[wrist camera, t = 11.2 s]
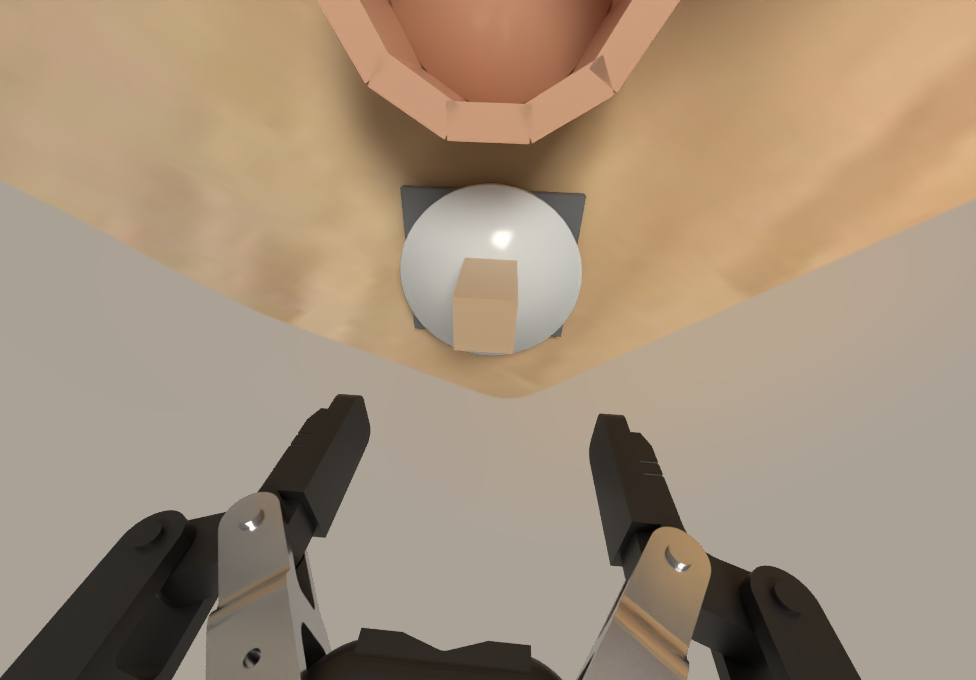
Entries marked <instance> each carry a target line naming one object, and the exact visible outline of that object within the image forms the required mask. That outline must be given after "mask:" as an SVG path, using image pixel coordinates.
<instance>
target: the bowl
mask: <svg viewBox="0 0 976 680" xmlns="http://www.w3.org/2000/svg"><path fill="white" fill-rule="evenodd" d="M679 1H680V0H317V2H318V4H319V6H320V7H321V9H322V11H323V12H324V14H325V16H326V18H327V19H328V21H329V23H330V24H331V26H332V28H333V30H334V31H335V33H336V35H337V36H338V38H339V40H340V42H341V43H342V45H343V47H344V48H345V50H346V52H347V54H348V55H349V57H350V59H351V60H352V62H353V64H354V66H355V67H356V69H357V71H358V72H359V74H360V76H361V78H362V79H363V81H364V83H365V84H368V87H369V88H371V89H372V90H373V91H375V92H376V93H378V94H379V95H381V96H382V97H383V98H385V99H386V100H388V101H389V102H391V103H392V104H394V105H395V106H396V107H398V108H399V109H401V110H402V111H404V112H405V113H406V114H408V115H409V116H411V117H412V118H414V119H415V120H417V121H418V122H419V123H421V124H422V125H424V126H425V127H427V128H428V129H430V130H431V131H432V132H434V133H435V134H437V135H438V136H440V137H441V138H442V139H444V140H445V139H447V141H463V142H487V143H512V144H529V143H530V140H531V142H532V143H534V142H536V141H537V140H539V139H541V138H542V137H544V136H546V135H548V134H549V133H551V132H553V131H554V130H556V129H558V128H559V127H561V126H563V125H565V124H566V123H568V122H570V121H571V120H573V119H575V118H577V117H578V116H580V115H582V114H583V113H585V112H587V111H589V110H590V109H592V108H594V107H595V106H597V105H599V104H600V103H602V102H604V101H606V100H607V99H609V98H611V97H612V96H614V93H617V92H618V91H619V89H620V88H621V86H622V85H623V83H624V82H625V80H626V79H627V77H628V76H629V74H630V73H631V72H632V70H633V69H634V67H635V66H636V64H637V63H638V61H639V60H640V58H641V57H642V55H643V54H644V52H645V51H646V50H647V48H648V47H649V45H650V44H651V42H652V41H653V39H654V38H655V36H656V35H657V33H658V32H659V30H660V29H661V28H662V26H663V25H664V23H665V22H666V20H667V19H668V17H669V16H670V14H671V13H672V11H673V10H674V8H675V7H676V6H677V4H678V3H679ZM569 73H570V75H568V74H569ZM567 75H568V76H567ZM566 76H567V77H566ZM467 100H468V101H467ZM469 101H470V102H469ZM524 102H525V103H524ZM521 103H524V104H521Z"/></svg>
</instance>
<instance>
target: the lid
mask: <svg viewBox="0 0 976 680" xmlns="http://www.w3.org/2000/svg"><path fill="white" fill-rule="evenodd" d="M400 270H401V282H402V287H403V291H404V294H405V297H406V300H407V302H408V304H409V306H410V308H411V310H412V311H413V313H414V314H415V316H416V317H417V319H418V320H419V321H420V322H421V324H422V325H423V326H424V327H425V328H426V329H427V330H428V331H429V332H430V333H432V334H433V335H434V336H436V337H437V338H438V339H440V340H441V341H443V342H445V343H446V344H448V345H450V346H452V347H454V350H458V351H466V352H470V353H474V354H480V355H507V354H513V353H517V352H520V351H523V350H527V349H529V348H531V347H533V346H536V345H538V344H539V343H541V342H543V341H544V340H546V339H547V338H548V337H550V336H551V335H552V334H554V333H555V332H556V331H557V330H558V329H559V328H560V327H561V326H562V324H563V323H564V322H565V321H566V319H567V318H568V317H569V315H570V313H571V312H572V310H573V308H574V306H575V304H576V301H577V299H578V295H579V292H580V288H581V280H582V264H581V258H580V253H579V250H578V247H577V243H576V241H575V239H574V237H573V235H572V233H571V231H570V229H569V227H568V225H567V224H566V222H565V221H564V219H563V218H562V217H561V216H560V215H559V213H558V212H557V211H556V210H555V209H554V208H553V207H552V206H550V205H549V204H548V203H547V202H546V201H544V200H543V199H541V198H539V197H538V196H536V195H535V194H533V193H531V192H528V191H526V190H524V189H521V188H518V187H514V186H511V185H505V184H497V183H482V184H475V185H469V186H466V187H463V188H459V189H456V190H454V191H452V192H450V193H448V194H446V195H444V196H443V197H441V198H440V199H438V200H437V201H435V202H434V203H433V204H432V205H431V206H430V207H429V208H427V209H426V210H425V211H424V213H423V214H422V215H421V216H420V218H419V219H418V220H417V221H416V222H415V224H414V225H413V227H412V229H411V230H410V232H409V234H408V236H407V239H406V241H405V244H404V247H403V251H402V255H401V265H400Z"/></svg>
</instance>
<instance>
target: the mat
mask: <svg viewBox="0 0 976 680" xmlns="http://www.w3.org/2000/svg"><path fill="white" fill-rule="evenodd" d="M456 189H459V188H447V187H425V186H402V187H401V198H402V207H403V217H404V227H405V236H406V239H407V236H408V234H409V232H410V230H411V229H412V227H413V225H414V224H415V222H416V221H417V220H418V219H419V218H420V216H421V215H422V214H423V213H424V211H425V210H426V209H427V208H429V207H430V206H431V205H432V204H433V203H434V202H435V201H437V200H438V199H440V198H441V197H443V196H444V195H446V194H448V193H450V192H452V191H454V190H456ZM528 192H531V193H533V194H535V195H536V196H538V197H539V198H541V199H543V200H544V201H546V202H547V203H548V204H549V205H550V206H552V207H553V208H554V209H555V210H556V211H557V212H558V213H559V215H560V216H561V217H562V218H563V219H564V221H565V222H566V224H567V225H568V227H569V229H570V231H571V233H572V235H573V237H574V239H575V241H576V243H578V238H579V232H580V227H581V221H582V215H583V210H584V204H585V199H586V195H585V194H580V193H558V192H536V191H528ZM413 314H414V313H413ZM414 324H415V328H421V329H426V328H425V327H424V326H423V325H422V324H421V322H420V321H419V320H418V319H417V317H416V316H415V314H414ZM562 327H563V324H562V326H561V327H560V328H559V329H558V330H557V331H556V332H555V333H554V334H552V335H551V336H559V337H561V333H562Z"/></svg>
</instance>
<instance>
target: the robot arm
mask: <svg viewBox="0 0 976 680" xmlns="http://www.w3.org/2000/svg"><path fill="white" fill-rule="evenodd" d="M369 436H370V423H369V419H368V415H367V411H366V407H365V403H364V399H363V397H362V396H359V395H345V394H338V395H337V396H336V397H335V399H334V400H333V402H332V403H331V405H330V406H329V408H328V409H323V408H321V409H320V410H318V411H317V412H316V413H315V414H313V415H312V416H311V417H310V418H308V419H307V420H306V422H305V423H304V425H303V426H302V428H301V430H300V431H299V432H298V435H296V437H295V438H294V440H293V441H292V443H291V446H289V447H288V449H287V450H286V452H285V453H284V454H283V456H282V458H281V459H280V460H279V462H278V463H277V465H276V467H275V468H274V469H273V471H272V472H271V474H270V475H269V477H268V478H267V480H266V481H265V483H264V484H263V486H262V487H261V489H260V490H259V491H258V492H257V493H254V494H251V495H248V496H246V497H244V498H242V499H241V500H239V501H238V502H237V503H235V504H234V505H233V506H231V507H230V508H229V510H228V511H227V512H224V513H219V514H215V515H211V516H206V517H201V518H197V519H192V520H187V519H186V518H185V517H184V516H183V514H182V513H180V512H178V511H173V510H169V511H163V512H159V513H156V514H153V515H151V516H149V517H147V518H145V519H143V520H142V521H140V522H138V523H137V524H136V525H134V526H133V527H132V528H131V529H129V530H128V531H127V532H126V533H125V534H124V535H123V536H122V537H121V539H120V540H119V541H118V542H117V543H116V544H115V546H114V547H113V548H112V549H111V550H110V551H109V553H108V554H107V555H106V556H105V557H104V558H103V559H102V561H101V562H100V563H99V564H98V565H97V566H96V568H95V569H94V570H93V571H92V572H91V573H90V574H89V576H88V577H87V578H86V579H85V580H84V581H83V583H82V584H81V585H80V586H79V587H78V588H77V590H76V591H75V592H74V593H73V594H72V595H71V597H70V598H69V599H68V600H67V601H66V602H65V603H64V605H63V606H62V607H61V608H60V609H59V610H58V612H57V613H56V614H55V615H54V616H53V617H52V619H51V620H50V621H49V622H48V623H47V624H46V626H45V627H44V628H43V629H42V630H41V631H40V632H39V634H38V635H37V636H36V637H35V638H34V639H33V641H32V642H31V643H30V644H29V645H28V646H27V648H26V649H25V650H24V651H23V652H22V653H21V654H20V656H19V657H18V658H17V659H16V660H15V662H14V663H13V664H12V665H11V666H10V667H9V668H8V670H7V671H6V672H5V673H4V674H3V675H2V677H1V678H0V680H172V678H173V676H174V675H175V673H176V671H177V669H178V667H179V666H180V664H181V662H182V660H183V659H184V657H185V655H186V653H187V651H188V650H189V648H190V646H191V644H192V642H193V641H194V639H195V637H196V635H197V634H198V632H199V630H200V628H201V626H202V624H203V623H204V621H205V619H206V618H207V615H208V614H209V612H210V610H211V609H212V607H213V605H214V603H215V601H216V600H217V598H218V596H219V603H218V607H217V609H216V610H215V611H213V612H212V613H211V614H210V615H209V618H208V622H207V632H206V636H207V637H206V638H207V639H206V680H562V679H561V678H560V677H559V676H558V675H557V674H556V673H555V672H554V671H552V670H551V669H550V668H549V667H547V666H546V665H545V664H543V663H541V662H540V661H538V660H536V659H534V658H532V657H531V646H530V645H521V644H511V643H502V642H493V641H486V642H482V643H478V644H474V645H469V646H465V647H461V648H457V649H452V650H448V651H441V650H438V649H436V648H434V647H432V646H430V645H428V644H426V643H424V642H422V641H420V640H418V639H416V638H414V637H411V636H409V635H407V634H405V633H403V632H396V631H386V630H377V629H368V628H361V631H360V635H359V638H358V640H356V641H352V642H350V643H347V644H345V645H342V646H340V647H339V648H337V649H335V650H333V651H331V648H330V644H329V640H328V637H327V633H326V629H325V627H324V624H323V622H322V619H321V615H320V612H319V607H318V603H317V597H316V593H315V587H314V582H313V578H312V573H311V568H310V563H309V558H308V554H307V550H306V548H307V546H308V544H309V542H310V540H311V538H312V536H313V537H323V538H324V537H326V535H327V533H328V531H329V528H330V526H331V524H332V522H333V520H334V517H335V515H336V513H337V511H338V508H339V506H340V504H341V502H342V500H343V497H344V495H345V493H346V491H347V488H348V486H349V484H350V482H351V480H352V477H353V475H354V473H355V470H356V468H357V466H358V464H359V462H360V459H361V457H362V455H363V453H364V451H365V448H366V446H367V444H368V441H369ZM589 458H590V465H591V470H592V475H593V480H594V485H595V490H596V495H597V500H598V505H599V510H600V515H601V520H602V525H603V530H604V535H605V540H606V545H607V550H608V555H609V560H610V565H612V566H622V567H623V570H624V575H625V579H626V580H625V582H624V584H623V586H622V588H621V590H620V592H619V594H618V597H617V598H616V601H615V602H614V605H613V607H612V609H611V611H610V613H609V615H608V617H607V619H606V621H605V623H604V625H603V627H602V629H601V631H600V633H599V635H598V638H597V639H596V641H595V644H594V645H593V647H592V649H591V651H590V653H589V655H588V657H587V659H586V661H585V663H584V665H583V667H582V669H581V671H580V673H579V675H578V677H577V679H576V680H687V677H688V672H689V662H688V660H687V651H688V648H689V645H690V641H691V639H692V640H694V641H697V642H698V643H700V644H703V645H705V646H707V647H709V648H710V649H711V652H712V655H713V658H714V662H715V665H716V668H717V671H718V674H719V678H720V680H861V678H860V676H859V675H858V673H857V671H856V670H855V667H854V666H853V664H852V662H851V660H850V658H849V657H848V655H847V653H846V651H845V649H844V648H843V646H842V644H841V642H840V640H839V639H838V637H837V635H836V633H835V631H834V630H833V628H832V626H831V624H830V622H829V620H828V619H827V617H826V615H825V613H824V611H823V610H822V608H821V606H820V604H819V603H818V601H817V600H816V598H815V597H814V595H813V594H812V593H811V592H810V591H809V590H808V588H807V587H806V586H804V585H803V584H802V583H801V582H800V581H799V580H798V579H796V578H795V577H794V576H792V575H791V574H789V573H787V572H785V571H783V570H781V569H779V568H776V567H772V566H760V567H757V568H756V569H755V570H754V571H753V572H749V571H746V570H744V569H741V568H739V567H736V566H734V565H732V564H729V563H727V562H724V561H722V560H719V559H717V558H715V557H713V556H711V555H710V554H708V553H706V552H705V551H704V549H703V548H702V546H701V545H700V544H699V543H698V542H697V541H696V540H695V539H694V538H693V537H691V536H690V535H688V534H687V532H686V531H685V529H684V527H683V525H682V522H681V520H680V517H679V515H678V512H677V509H676V507H675V504H674V502H673V499H672V497H671V494H670V492H669V489H668V486H667V484H666V481H665V479H664V477H663V476H662V471H661V469H660V466H659V465H658V461H657V458H656V456H655V453H654V451H653V448H652V446H651V445H650V444H649V443H648V441H647V440H646V439H645V438H644V437H643V436H642V435H641V433H635V432H630V430H629V427H628V424H627V421H626V419H625V417H624V416H623V415H611V414H599V415H598V418H597V421H596V425H595V428H594V432H593V435H592V438H591V442H590V448H589Z"/></svg>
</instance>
